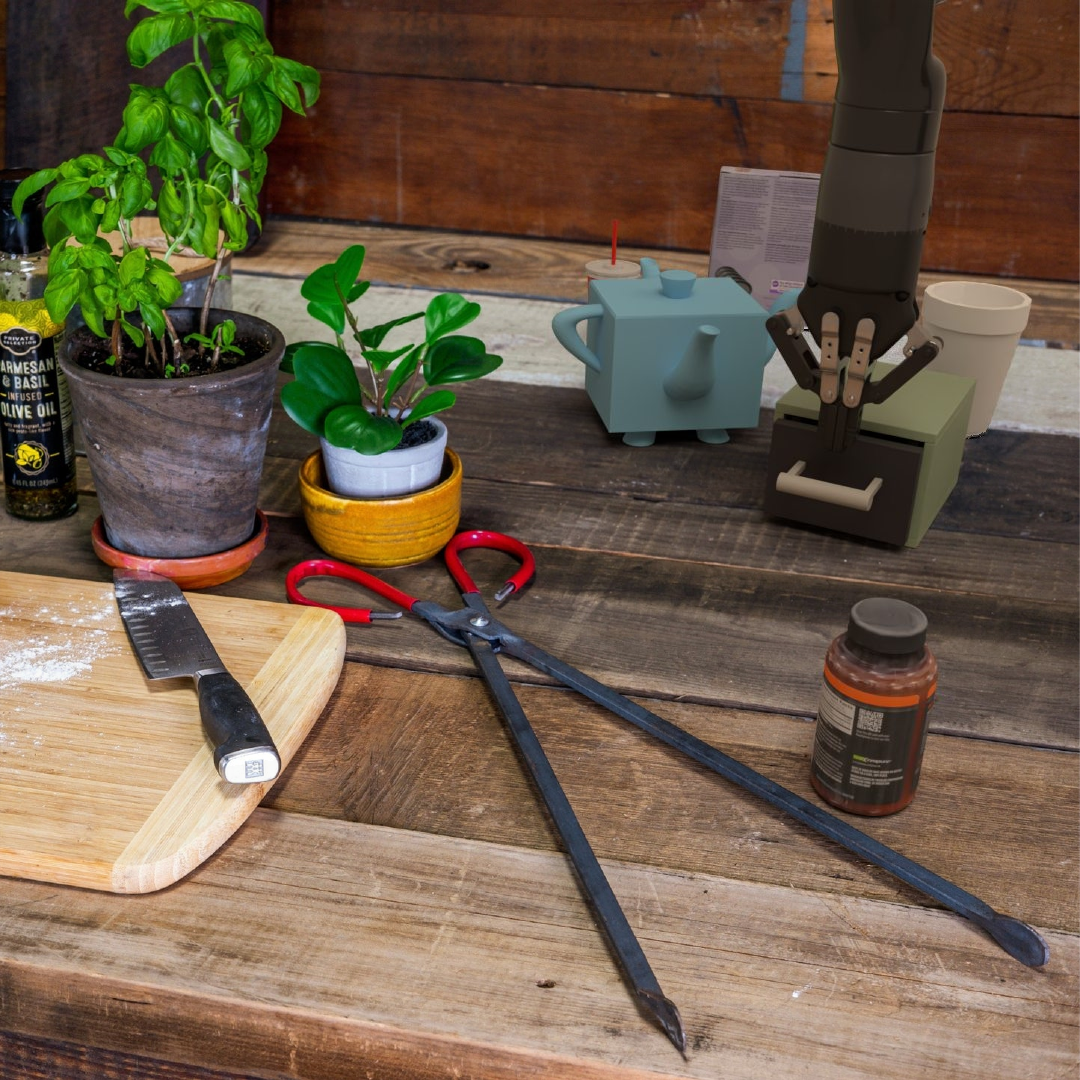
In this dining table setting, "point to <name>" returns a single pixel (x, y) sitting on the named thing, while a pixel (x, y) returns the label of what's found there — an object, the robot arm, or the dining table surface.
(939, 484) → the cabinet
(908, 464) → the drawer
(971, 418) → the foam cup
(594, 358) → the teakettle
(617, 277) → the beverage cup
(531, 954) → the dining table surface
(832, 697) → the supplement bottle
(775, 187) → the cake pan box
